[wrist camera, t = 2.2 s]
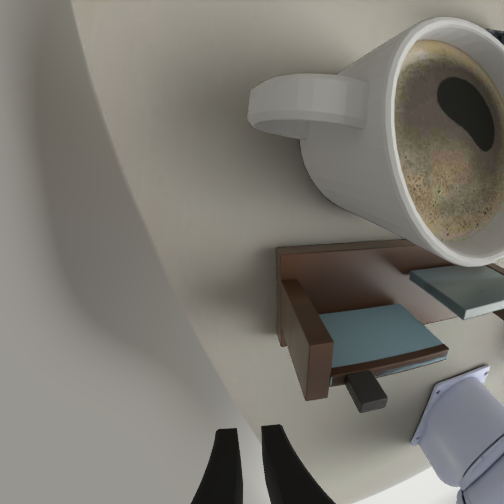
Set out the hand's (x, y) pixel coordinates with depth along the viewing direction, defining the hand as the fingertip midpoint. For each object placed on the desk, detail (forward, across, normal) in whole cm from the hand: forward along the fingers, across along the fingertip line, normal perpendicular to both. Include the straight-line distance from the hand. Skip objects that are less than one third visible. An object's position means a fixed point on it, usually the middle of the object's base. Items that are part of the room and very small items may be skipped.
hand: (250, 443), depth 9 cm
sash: (+9, -7, 0) cm, 11 cm away
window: (+10, -10, -1) cm, 15 cm away
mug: (+11, -8, -11) cm, 17 cm away
